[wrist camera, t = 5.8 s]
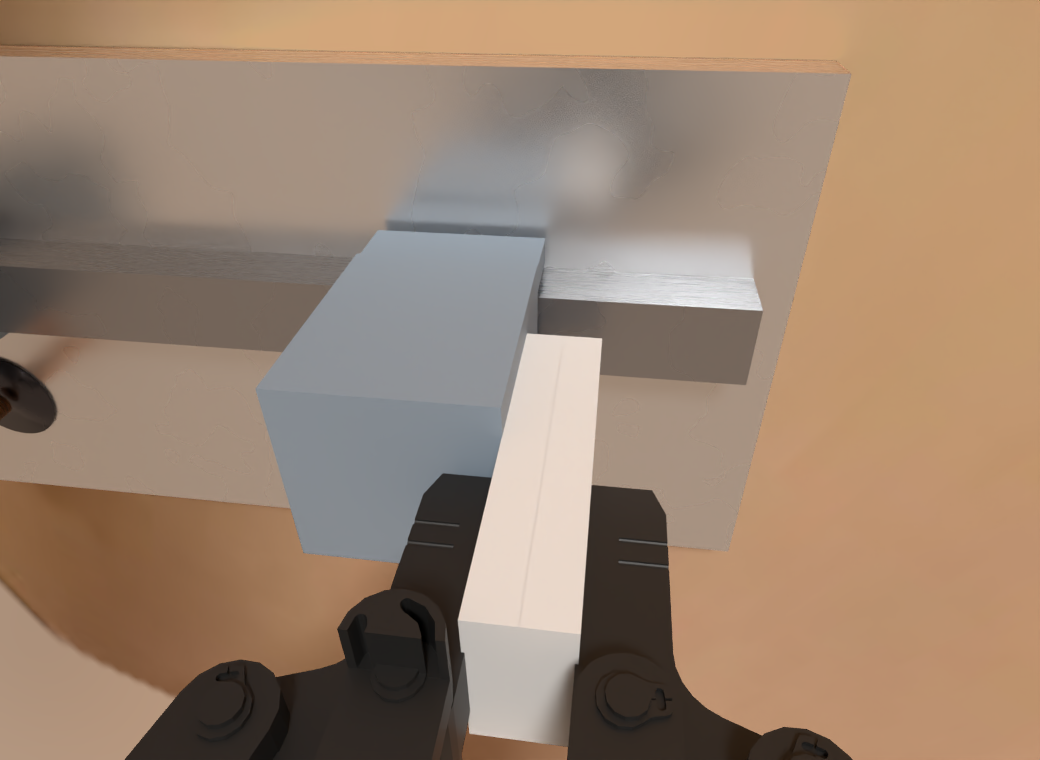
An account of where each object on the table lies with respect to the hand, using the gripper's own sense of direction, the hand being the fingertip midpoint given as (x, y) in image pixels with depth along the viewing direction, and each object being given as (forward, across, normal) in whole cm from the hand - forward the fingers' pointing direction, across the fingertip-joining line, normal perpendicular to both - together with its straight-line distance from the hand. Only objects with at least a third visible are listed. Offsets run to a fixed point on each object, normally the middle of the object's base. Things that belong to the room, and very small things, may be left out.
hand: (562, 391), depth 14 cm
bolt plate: (+5, -8, -2) cm, 9 cm away
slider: (+3, -3, -2) cm, 5 cm away
